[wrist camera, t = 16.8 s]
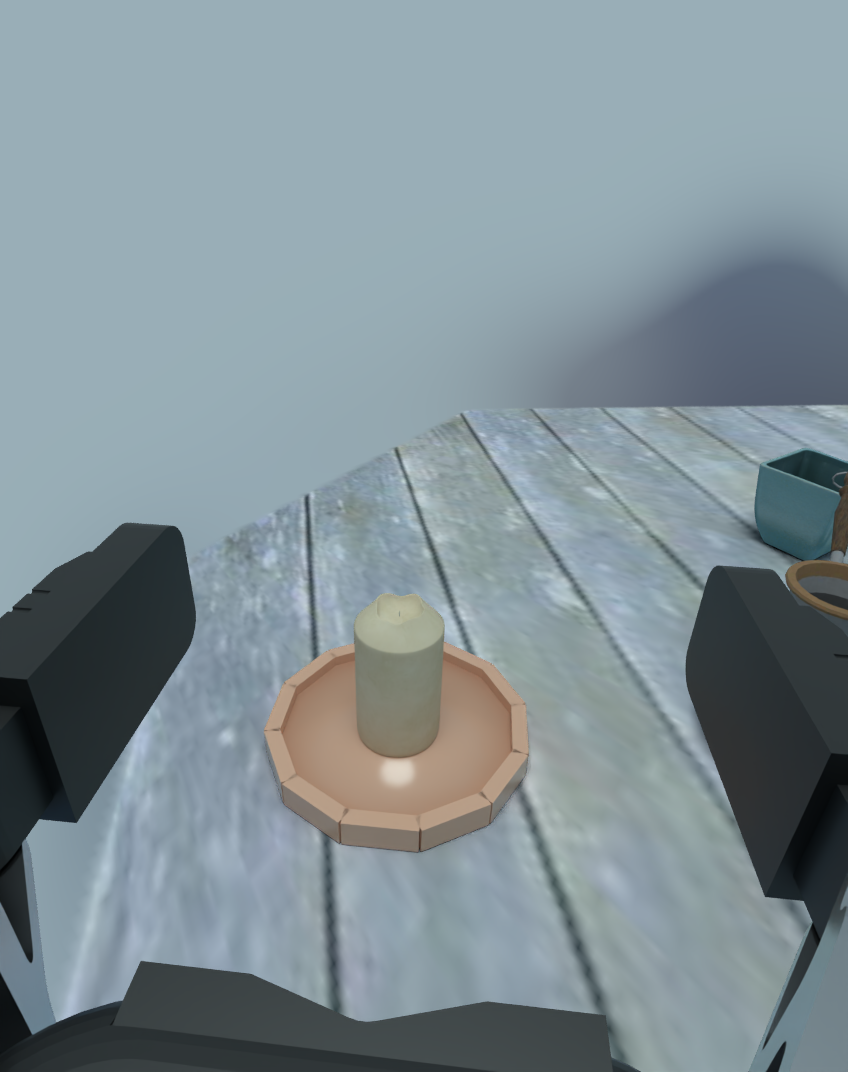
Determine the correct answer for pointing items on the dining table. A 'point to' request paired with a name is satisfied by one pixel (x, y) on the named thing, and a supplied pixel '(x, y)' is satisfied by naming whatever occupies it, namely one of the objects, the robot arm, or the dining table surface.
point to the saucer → (397, 783)
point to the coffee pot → (826, 571)
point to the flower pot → (799, 502)
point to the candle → (398, 674)
